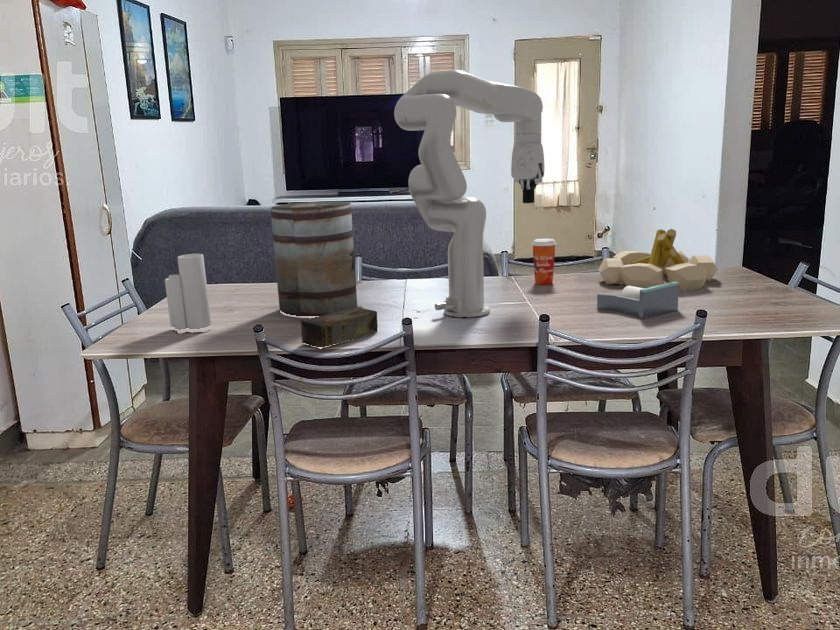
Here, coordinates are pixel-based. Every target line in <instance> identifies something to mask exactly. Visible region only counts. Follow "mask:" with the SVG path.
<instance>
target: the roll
mask: <svg viewBox="0 0 840 630" xmlns="http://www.w3.org/2000/svg"><path fill="white" fill-rule="evenodd" d="M640 289H644V288H639V287H634V286H627V285H626V286H625V287H624V288H623V289H622V291H621V293H620V296H624V297H629V298H634V299H639V300H640Z"/></svg>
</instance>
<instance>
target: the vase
mask: <svg viewBox="0 0 840 630" xmlns="http://www.w3.org/2000/svg"><path fill="white" fill-rule="evenodd" d="M177 265H178V271H179V274H178V273H177V274H170V275H168V277H166V278H165V279H164V285H165V291H166V298H167V299H166V301H167V306H168V307H167V308H168V315H169V324H170V327H171V326H172V327H175V329H178V330H181V329H186V328H189V329H200V328H205V327H208V326H210V325H211V326H212V319H211V317H212V316H211V310H210V309H211V308H210V302H209V294H208V292H209V291H208V285H207V276H206V267H205V258H204V254H202V253H189V254H181V255H178V256H177Z"/></svg>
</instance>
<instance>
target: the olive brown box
mask: <svg viewBox="0 0 840 630" xmlns="http://www.w3.org/2000/svg"><path fill="white" fill-rule="evenodd" d="M300 327H301V328H300V330H301V331H300V332H301V344H302V343H306V344H309V345H312V346H316V347H325V346H329V345H333V344H337V343H341V342H345V341H348V340H352V339H355V340H357V339H356V338H358V339H361V338H364V337H363V336H365V337H367V336H366V335H368V336H370V335H369V334H371V335H373V334H372V333H374V334H376V333H375V332H377V333H378V311H376V310H373V309H369V308H364V307H363V306H357V307H355V308H352V309H349V310H344V311H339V312H335V313H331V314H327V315H323V316H319V317H315V318H311V319H303V320H301V321H300ZM360 337H361V338H360ZM352 341H353V340H352ZM348 342H349V341H348ZM345 343H346V342H345Z"/></svg>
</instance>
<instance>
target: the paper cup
mask: <svg viewBox="0 0 840 630" xmlns="http://www.w3.org/2000/svg"><path fill="white" fill-rule="evenodd" d="M531 245H532V255H533V256H532V257H533V259H532V260H533V270H534V271H533V272H534V284H535V283H536V285H542V286H546V285H547V286H548V284H549V285H552V284H553V282H554V270H555V252H556V245H558V244H557V242H556V240H555V239H553V238H535V239H533V241H532V243H531ZM551 283H552V284H551Z"/></svg>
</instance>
